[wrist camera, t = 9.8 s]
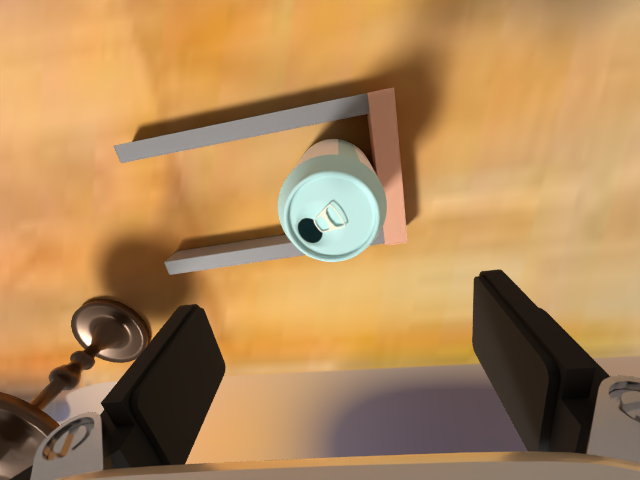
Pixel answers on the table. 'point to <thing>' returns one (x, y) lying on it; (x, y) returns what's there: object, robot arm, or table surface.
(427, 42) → the table surface
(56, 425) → the candlestick
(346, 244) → the can
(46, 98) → the table surface
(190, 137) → the track
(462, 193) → the table surface
